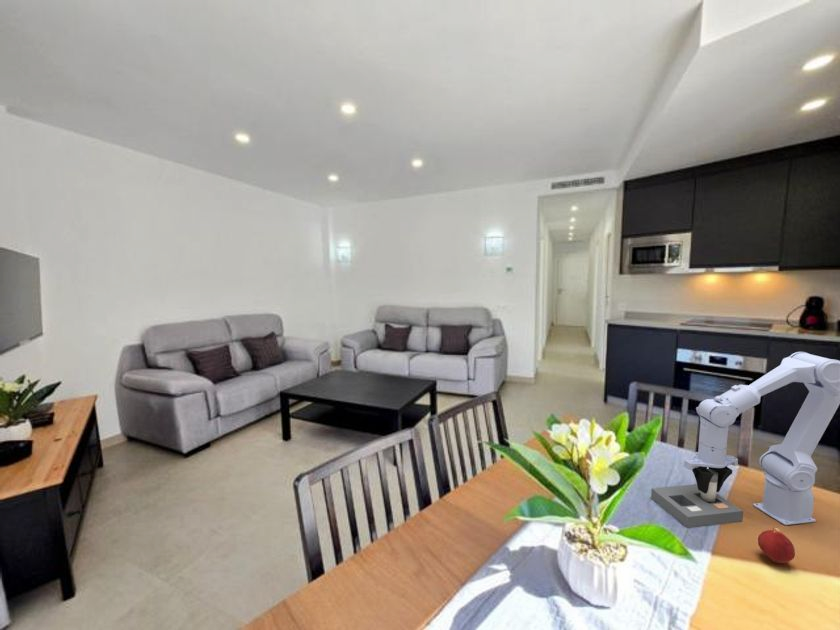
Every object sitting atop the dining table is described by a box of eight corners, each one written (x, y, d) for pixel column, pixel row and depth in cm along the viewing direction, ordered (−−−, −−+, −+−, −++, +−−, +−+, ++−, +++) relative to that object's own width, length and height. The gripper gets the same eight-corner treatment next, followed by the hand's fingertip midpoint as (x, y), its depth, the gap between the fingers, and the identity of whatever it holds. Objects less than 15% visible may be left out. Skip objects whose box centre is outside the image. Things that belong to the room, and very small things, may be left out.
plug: (707, 494, 98) (710, 468, 97) (718, 502, 95) (721, 475, 94) (697, 495, 98) (700, 469, 97) (707, 503, 94) (710, 476, 93)
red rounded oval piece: (782, 554, 80) (786, 522, 79) (800, 575, 75) (804, 541, 74) (751, 548, 82) (754, 517, 81) (765, 568, 77) (769, 535, 76)
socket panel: (700, 493, 103) (701, 482, 103) (742, 521, 91) (743, 509, 91) (650, 498, 101) (651, 487, 101) (687, 527, 89) (688, 515, 89)
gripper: (721, 435, 99) (717, 479, 101) (675, 439, 97) (672, 484, 99) (747, 447, 92) (743, 495, 94) (698, 451, 90) (694, 500, 92)
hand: (708, 490), depth 96 cm, fingers closed on plug, 3 cm apart
